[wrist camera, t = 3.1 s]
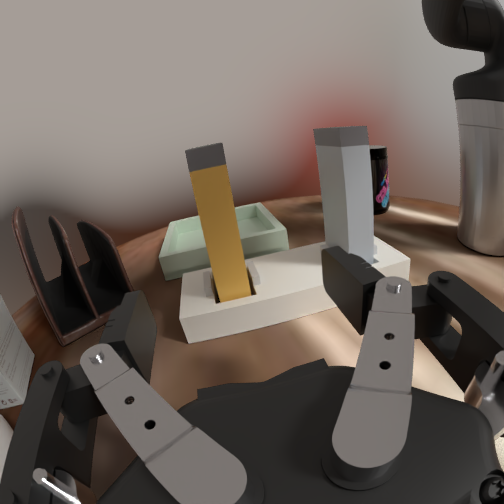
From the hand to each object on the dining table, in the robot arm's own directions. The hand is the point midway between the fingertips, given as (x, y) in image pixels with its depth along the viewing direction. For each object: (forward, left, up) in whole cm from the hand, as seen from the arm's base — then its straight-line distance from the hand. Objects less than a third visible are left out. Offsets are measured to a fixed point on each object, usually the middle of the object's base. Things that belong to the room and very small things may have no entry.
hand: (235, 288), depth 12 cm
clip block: (-12, -4, -8) cm, 15 cm away
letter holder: (0, -28, -8) cm, 30 cm away
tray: (-19, -19, -8) cm, 28 cm away
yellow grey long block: (-8, -8, -8) cm, 14 cm away
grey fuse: (-16, 0, -8) cm, 17 cm away
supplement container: (-38, -3, -8) cm, 39 cm away
